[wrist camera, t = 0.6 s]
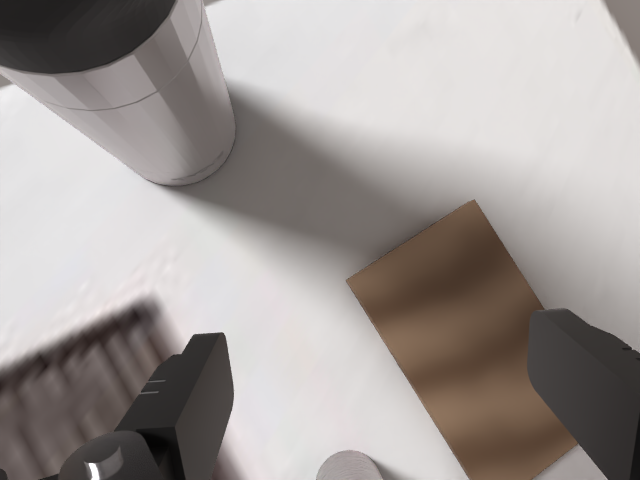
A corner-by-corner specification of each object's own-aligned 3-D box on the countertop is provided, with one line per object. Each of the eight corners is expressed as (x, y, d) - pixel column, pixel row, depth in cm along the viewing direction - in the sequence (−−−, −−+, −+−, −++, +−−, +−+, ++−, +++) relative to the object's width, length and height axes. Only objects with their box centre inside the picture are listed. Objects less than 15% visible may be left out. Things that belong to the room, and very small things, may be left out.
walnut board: (345, 280, 32) (348, 280, 31) (467, 202, 33) (474, 199, 32) (483, 501, 31) (491, 510, 30) (600, 411, 33) (612, 416, 32)
